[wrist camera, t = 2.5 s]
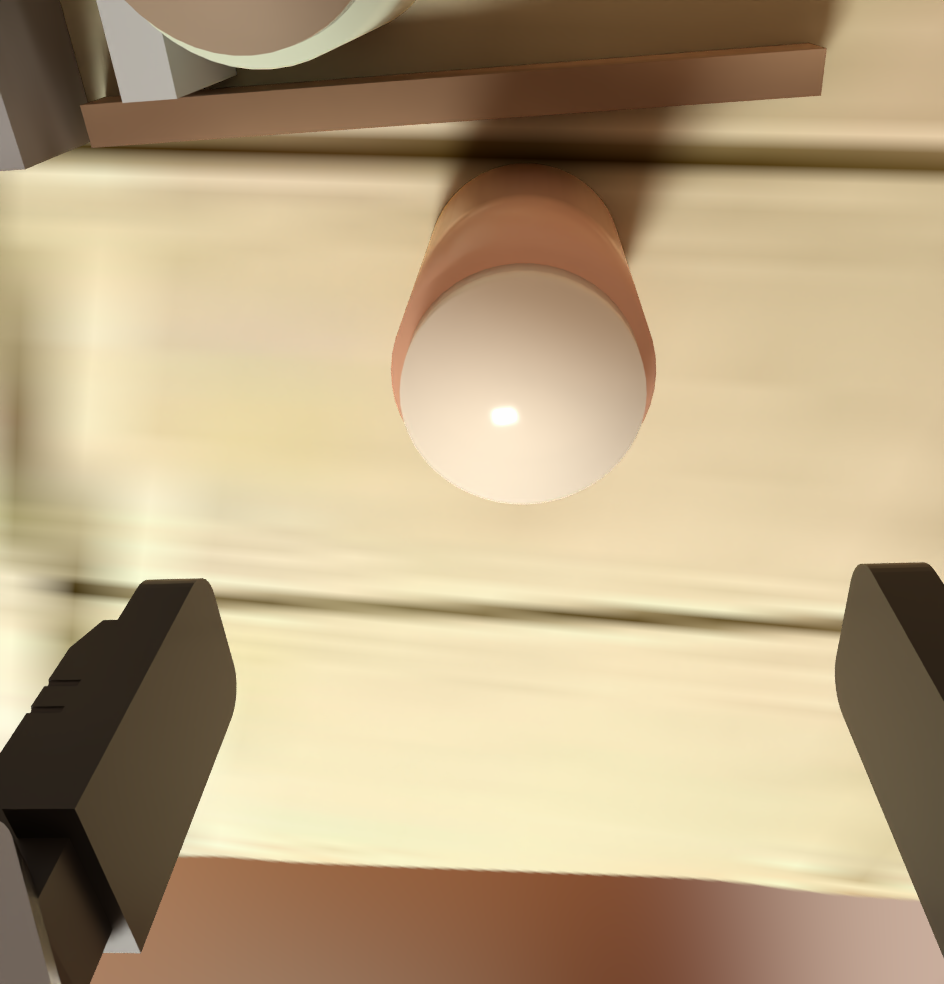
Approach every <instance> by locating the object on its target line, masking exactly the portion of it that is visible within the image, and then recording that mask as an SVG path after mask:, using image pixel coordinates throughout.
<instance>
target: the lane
mask: <svg viewBox="0 0 944 984" xmlns="http://www.w3.org/2000/svg"><path fill="white" fill-rule="evenodd" d="M826 49H827V48H824V47H820V46H817V45H814V44H810V43H802V44H789V45H776V46H763V47H750V48H737V49H724V50H711V51H698V52H685V53H672V54H659V55H646V56H633V57H620V58H607V59H594V60H581V61H568V62H555V63H542V64H529V65H516V66H503V67H490V68H477V69H464V70H451V71H438V72H425V73H412V74H399V75H386V76H373V77H360V78H346V79H333V80H320V81H307V82H294V83H281V84H268V85H255V86H242V87H229V88H216V89H203V90H198V91H195V92H193V93H190V94H188V95H185V96H183V97H180V98H178V99H168V100H155V101H142V102H129V103H122V99H121V96H112V97H103V98H100V99H97V100H94V101H91V102H87V98H86V95H85V91H84V88H83V84H82V80H81V77H80V73H79V70H78V66H77V62H76V59H75V55H74V51H73V48H72V44H71V41H70V37H69V33H68V30H67V26H66V23H65V19H64V15H63V12H62V8H61V5H60V1H59V0H0V171H7V170H22V169H27V168H29V167H32V166H34V165H36V164H39V163H41V162H44V161H46V160H48V159H51V158H53V157H55V156H58V155H60V154H63V153H65V152H67V151H70V150H72V149H74V148H77V147H79V146H82V145H84V144H86V143H89V142H90V143H91V147H92V148H95V147H109V146H123V145H137V144H151V143H165V142H179V141H193V140H207V139H221V138H235V137H249V136H263V135H276V134H290V133H304V132H318V131H332V130H346V129H360V128H374V127H388V126H402V125H416V124H430V123H444V122H458V121H472V120H486V119H500V118H514V117H527V116H541V115H555V114H569V113H583V112H597V111H611V110H625V109H639V108H653V107H667V106H681V105H695V104H709V103H723V102H737V101H751V100H764V99H778V98H792V97H806V96H820V95H821V90H822V82H823V74H824V65H825V57H826Z"/></svg>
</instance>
